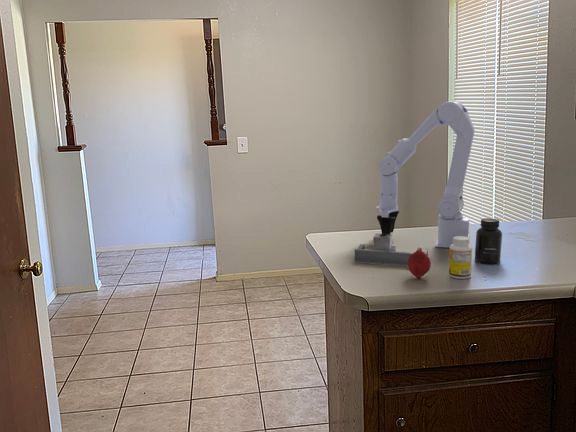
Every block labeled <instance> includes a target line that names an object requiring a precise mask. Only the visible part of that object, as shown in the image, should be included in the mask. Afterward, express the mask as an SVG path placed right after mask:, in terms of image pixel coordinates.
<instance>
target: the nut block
mask: <svg viewBox="0 0 576 432" xmlns="http://www.w3.org/2000/svg"><path fill="white" fill-rule="evenodd" d="M392 246H393V234H392V233H391V234H382V233H375V234H374V236H373V246H372V247H373V249H372V250H377V249H378V250H382V251H389V250H390V248H391V247H392Z"/></svg>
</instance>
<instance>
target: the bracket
mask: <svg viewBox="0 0 576 432" xmlns="http://www.w3.org/2000/svg"><path fill="white" fill-rule="evenodd" d="M365 245H366V244H364V243H363V244H362V243H361V244H360V245H358V247H357V248H355V249H354V261H353V263H354V262H355V264H366V265H367V264H368V265H369V264H370V265H382V266H383V265H384V266H396V267H397V266H398V267H408V265H407V264H408V259H409V257H410V256H411V255H412V254H413V253H414V252H411V251H397V246H396V245H395V246H394V245H392V247H391V248H390V250H377V249H366V248H365V247H366V246H365ZM422 252H424V253H425V254H427V256H428V257H429V247H424V248H422Z"/></svg>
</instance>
